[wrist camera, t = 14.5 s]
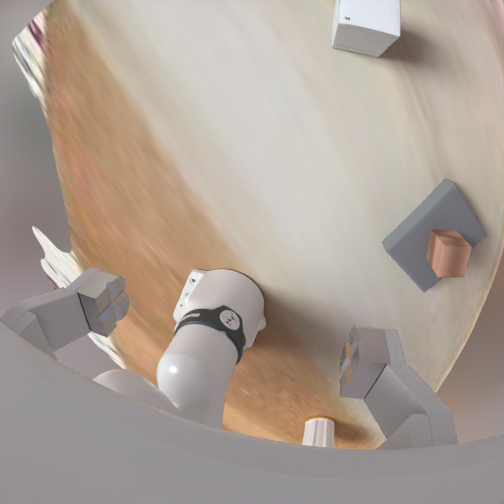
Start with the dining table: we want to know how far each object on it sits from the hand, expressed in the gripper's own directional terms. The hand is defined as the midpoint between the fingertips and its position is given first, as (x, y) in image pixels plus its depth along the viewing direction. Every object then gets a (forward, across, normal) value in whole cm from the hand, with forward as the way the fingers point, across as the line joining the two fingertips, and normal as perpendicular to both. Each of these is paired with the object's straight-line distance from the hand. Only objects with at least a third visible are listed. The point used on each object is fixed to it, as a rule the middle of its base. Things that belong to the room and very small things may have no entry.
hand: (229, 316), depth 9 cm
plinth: (+37, -26, +8) cm, 46 cm away
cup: (+37, -20, +72) cm, 84 cm away
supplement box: (+37, -7, -22) cm, 44 cm away
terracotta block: (+33, -26, +8) cm, 43 cm away
